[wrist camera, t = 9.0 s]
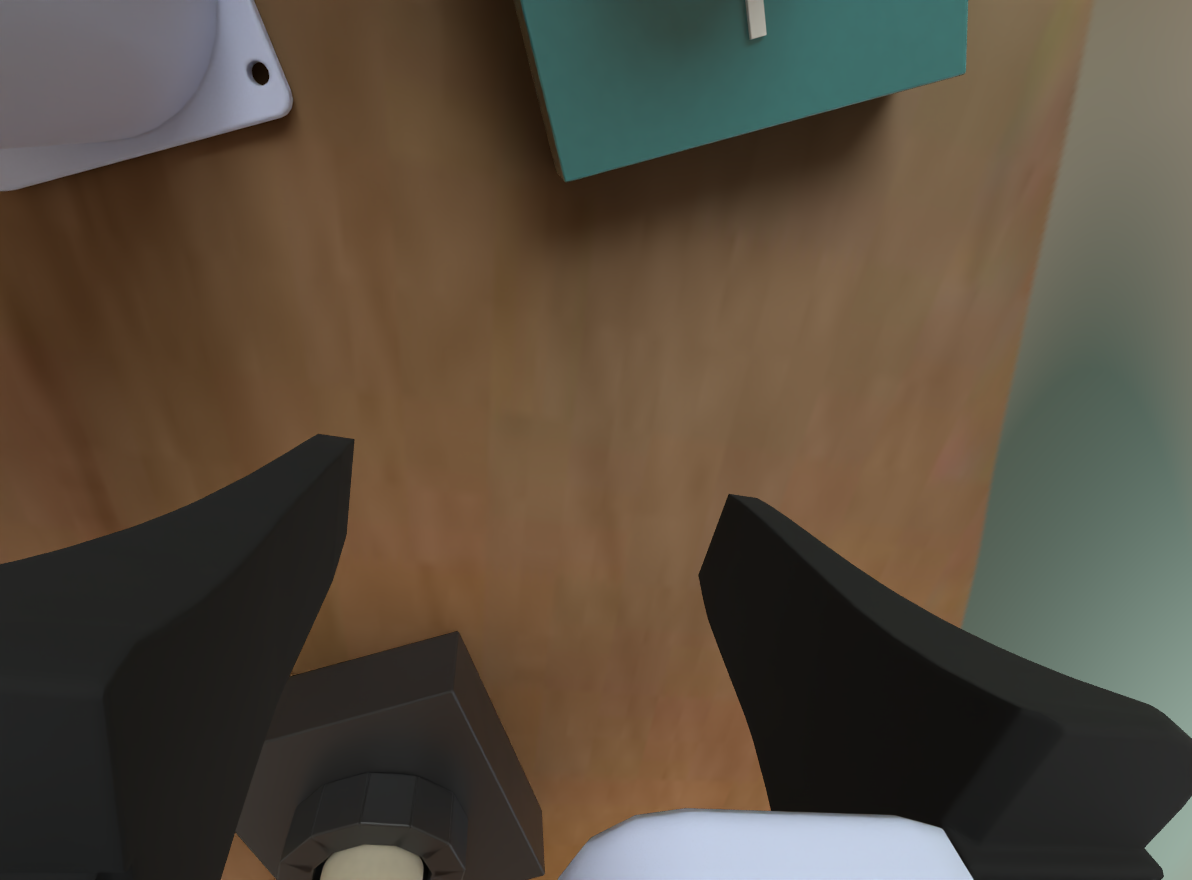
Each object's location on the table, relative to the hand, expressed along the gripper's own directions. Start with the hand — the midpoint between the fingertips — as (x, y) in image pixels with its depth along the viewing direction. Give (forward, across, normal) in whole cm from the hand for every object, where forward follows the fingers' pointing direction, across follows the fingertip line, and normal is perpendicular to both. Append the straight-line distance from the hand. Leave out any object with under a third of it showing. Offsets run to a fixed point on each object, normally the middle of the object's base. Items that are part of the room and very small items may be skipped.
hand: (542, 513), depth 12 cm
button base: (+9, +2, +19) cm, 21 cm away
